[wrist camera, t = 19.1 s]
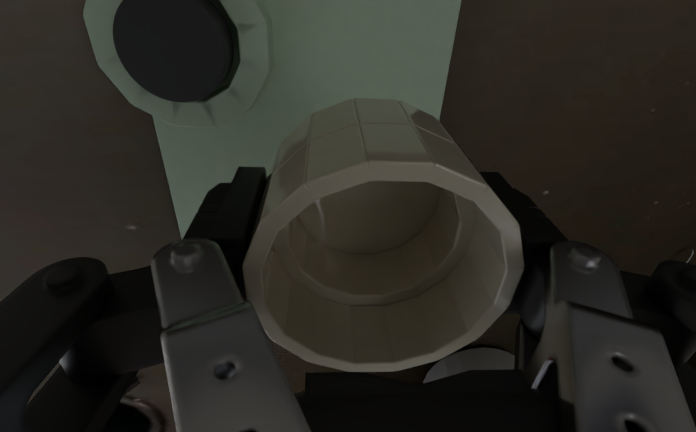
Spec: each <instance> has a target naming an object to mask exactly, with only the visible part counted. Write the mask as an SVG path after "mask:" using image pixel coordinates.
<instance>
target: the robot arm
mask: <svg viewBox="0 0 696 432" xmlns="http://www.w3.org/2000/svg"><path fill="white" fill-rule="evenodd" d="M480 174H481V175H482V176H483V178H484V179H485V180H486V181H487V183H488V184H489V185H490V187H491V188H492V189H493V190H494V192H495V193H496V194H497V196H498V197H499V198H500V200H501V201H502V202H503V203H504V205H505V206H506V207H507V209H508V210H509V211H510V212H511V214H512V215H513V216H514V218H515V219H516V220H517V221H518V224H519V226H520V233H521V241H522V249H523V257H524V270H523V273H522V276H521V278H520V281H519V283H518V286H517V288H516V291H515V293H514V296H513V298H512V301H511V303H510V305H509V306H508V308H507V309H506V310H505V311H504V313H503V314H513V313H519V315H520V317H521V319H520V321H519V323H518V326H517V329H516V342H515V359H514V369H501V370H469V371H465V372H462V373H458V374H455V375H451V376H448V377H444V378H441V379H437V380H434V381H430V382H427V383H423V384H414V383H409V382H404V381H400V380H395V379H390V378H386V377H381V376H377V375H372V374H368V373H363V372H330V373H306V380H305V391H302V392H298V393H295V394H294V393H293V391H292V389H291V386H290V384H289V382H288V380H287V378H286V376H285V373H284V371H283V369H282V367H281V365H280V363H279V360H278V358H277V356H276V354H275V352H274V350H273V347H272V345H271V343H270V341H269V339H268V336H267V334H266V332H265V330H264V328H263V326H262V323H261V321H260V319H259V317H258V315H257V313H256V310H255V308H254V306H253V304H252V303H251V301H250V300H246V293H245V286H244V278H243V271H242V266H243V260H244V256H245V253H246V249H247V246H248V242H249V239H250V235H251V232H252V228H253V225H254V221H255V217H256V214H257V211H258V207H259V204H260V200H261V197H262V193H263V190H264V186H265V183H266V179H267V175H266V169H265V167H242V166H239V167H238V169H237V171H236V173H235V176H234V178H233V180H232V182H231V183H219V184H218V185H216V186H215V187H213V188H212V189H211V190H209V191H208V192H207V194H206V196H205V198H204V200H203V202H202V204H201V205H200V207H199V209H198V213H196V215H195V217H194V219H193V220H192V222H191V224H190V226H189V228H188V230H187V232H186V234H185V236H184V237H183V239H181V240H178V241H175V242H172V243H170V244H168V245H166V246H164V247H163V248H161V249H160V250H159V251H158V252H157V253H156V254H155V255H154V256H153V258H152V260H151V265H150V266H147V267H144V268H140V269H135V270H130V271H125V272H120V273H115V274H110V275H109V274H108V271H107V269H106V266H105V264H104V263H103V262H101V261H100V260H98V259H94V258H89V257H80V258H71V259H66V260H62V261H59V262H56V263H53V264H51V265H49V266H47V267H45V268H43V269H41V270H39V271H37V272H36V273H34V274H33V275H32V276H30V277H29V278H28V279H27V280H26V281H24V282H23V283H22V284H21V285H20V286H19V287H17V288H16V289H15V290H14V291H13V292H12V293H10V294H9V295H8V296H7V297H6V298H4V299H3V300H2V301H1V302H0V432H101V431H102V429H103V427H104V426H105V424H106V423H107V421H108V419H109V418H110V416H111V414H112V413H113V411H114V410H115V408H116V406H117V405H118V403H119V402H120V400H121V398H122V397H123V395H124V394H125V392H126V390H127V389H128V387H129V385H130V384H131V382H132V381H133V379H134V377H135V376H136V374H137V372H138V371H139V369H142V368H146V367H149V366H153V365H156V364H160V363H163V362H165V367H166V373H167V379H168V384H169V390H170V396H171V401H172V407H173V413H174V419H175V424H176V430H177V432H696V371H695V370H694V369H693V368H692V367H691V366H690V365H689V364H688V363H687V360H688V359H689V358H690V357H691V356H692V355H693V353H694V352H695V351H696V265H692V264H689V263H685V262H680V261H664V262H661V263H660V264H659V265H658V266H657V268H656V269H655V271H654V272H653V274H652V275H651V277H649V276H644V275H639V274H634V273H630V272H625V271H620V270H619V267H618V265H617V263H616V262H615V261H614V260H613V259H612V258H611V257H610V256H609V255H608V254H606V253H605V252H603V251H602V250H600V249H598V248H596V247H594V246H591V245H588V244H585V243H582V242H577V241H569V240H568V239H567V238H566V237H565V236H564V235H563V234H562V233H561V232H560V231H559V230H558V229H557V227H556V226H555V225H554V224H553V223H552V222H551V221H550V220H549V219H548V218H547V217H545V214H544V213H543V212H542V211H541V210H540V209H538V207H537V205H536V204H535V203H534V202H533V201H532V200H531V199H530V198H529V197H528V196H526V195H525V194H523V193H521V192H520V191H518V190H516V189H515V188H512V187H511V186H510V185H509V184H508V183H507V182H506V180H505V179H504V178H503V177H502V176H501V175H500V174H499V173H498V172H480ZM58 362H60V364H61V365H60V367H59V368H58V369H57V370H56V371H55V373H54V374H53V375H52V376H51V377H50V379H49V380H48V381H47V382H46V383H45V385H44V386H43V387H42V388H41V389H40V391H39V392H38V393H37V394H36V395H35V397H34V398H33V399H32V400H31V401H30V403H29V404H28V405H27V403H28V401H29V399H30V397H31V395H32V393H33V392H34V391H35V389H36V388H37V387H38V386H39V385H40V383H41V382H42V381H43V380H44V379H45V377H46V376H47V375H48V374H49V373H50V371H51V370H52V369H53V368H54V367H55V366H56V364H57V363H58Z"/></svg>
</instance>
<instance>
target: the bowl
mask: <svg viewBox="0 0 696 432" xmlns="http://www.w3.org/2000/svg"><path fill="white" fill-rule="evenodd" d="M523 270H524V257H523V249H522V241H521V233H520V226H519V224H518V221H517V220H516V219H515V218H514V216H513V215H512V214H511V212H510V211H509V210H508V209H507V207H506V206H505V205H504V203H503V202H502V201H501V200H500V198H499V197H498V196H497V194H496V193H495V192H494V190H493V189H492V188H491V187H490V185H489V184H488V183H487V181H486V180H485V179H484V178H483V176H482V175H481V174H480V172H479V171H478V170H477V169H476V167H475V166H474V165H473V163H472V162H471V161H470V159H469V158H468V157H467V156H466V154H465V153H464V152H463V150H462V149H461V148H460V147H459V145H458V144H457V143H456V142H455V140H454V139H453V138H452V136H451V135H450V134H449V133H448V131H447V130H446V129H445V128H444V126H443V125H442V124H441V123H440V121H439V120H438V119H437V118H435V117H434V116H432V115H430V114H428V113H426V112H424V111H421V110H419V109H417V108H415V107H413V106H411V105H409V104H407V103H405V102H403V101H398V100H396V99H373V98H355V99H354V100H353V99H349V100H346V101H343V102H341V103H338V104H335V105H333V106H330V107H327V108H325V109H322V110H320V111H317V112H314V113H313V114H312V115H309V116H308V117H307V118H306V119H305V120H304V121H303V122H302V123H301V124H300V125H298V126H297V127H296V128H295V129H294V130H293V131H292V132H291V133H290V134H289V135H288V136H287V137H286V138H285V139H284V140H283V141H282V142H281V145H280V146H279V148H278V150H277V153H276V155H275V158H274V160H273V163H272V165H271V168H270V171H269V173H268V176H267V179H266V183H265V186H264V190H263V193H262V197H261V200H260V204H259V207H258V211H257V214H256V217H255V221H254V225H253V228H252V232H251V235H250V239H249V242H248V246H247V249H246V253H245V256H244V260H243V266H242V271H243V278H244V286H245V293H246V300H250V301H251V303H252V304H253V306H254V308H255V310H256V313H257V315H258V317H259V319H260V321H261V323H262V326H263V328H264V330H265V332H266V333H267V335H268V336H269V337H270V339H271V340H273V342H275V343H277V344H278V345H280V346H282V347H283V348H285V349H287V350H288V351H290V352H292V353H293V354H295V355H297V356H298V357H300V358H302V359H303V360H305V361H308V362H309V363H313V364H317V365H322V366H326V367H330V368H334V369H338V370H342V371H346V372H350V371H351V372H394V371H400V370H404V369H407V368H411V367H415V366H419V365H423V364H426V363H430V362H434V361H438V360H439V359H442V358H444V357H446V356H448V355H450V354H451V353H453V352H455V351H457V350H459V349H460V348H462V347H464V346H466V345H467V344H469V343H471V342H473V341H475V340H476V339H478V337H480V336H481V335H482V334H483V333H484V332H485V331H486V330H487V329H488V328H489V327H490V326H491V325H492V324H493V323H494V322H495V321H496V320H497V319H498V318H499V317H500V316H501V315H502V314H503V313H504V311H505V310H506V309H507V308H508V306H509V305H510V303H511V301H512V298H513V296H514V293H515V291H516V288H517V286H518V283H519V281H520V278H521V276H522V273H523Z"/></svg>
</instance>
